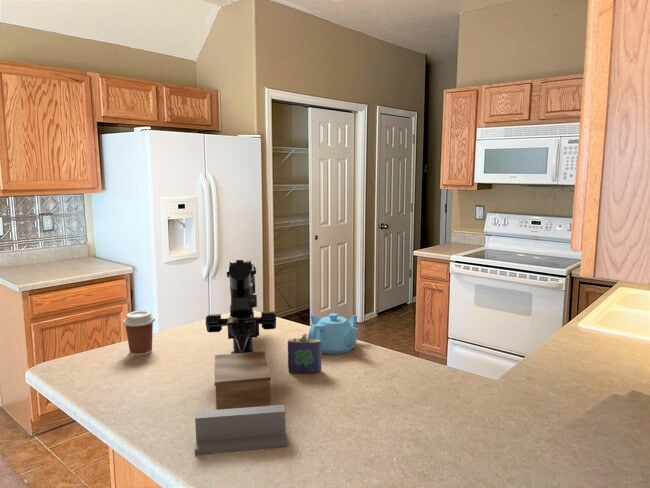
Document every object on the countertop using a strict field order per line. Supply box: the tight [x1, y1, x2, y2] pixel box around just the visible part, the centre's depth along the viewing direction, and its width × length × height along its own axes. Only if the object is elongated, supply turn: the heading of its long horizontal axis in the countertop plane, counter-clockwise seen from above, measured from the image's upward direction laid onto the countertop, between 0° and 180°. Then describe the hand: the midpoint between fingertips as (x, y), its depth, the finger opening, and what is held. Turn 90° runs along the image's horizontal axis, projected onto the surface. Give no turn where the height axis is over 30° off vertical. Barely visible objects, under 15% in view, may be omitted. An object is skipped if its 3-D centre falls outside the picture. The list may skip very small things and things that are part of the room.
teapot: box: [307, 312, 359, 355], centre depth 156 cm, size 15×15×11 cm
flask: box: [287, 333, 322, 375], centre depth 137 cm, size 9×3×11 cm, turn 88°
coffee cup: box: [122, 310, 156, 357], centre depth 153 cm, size 9×9×12 cm
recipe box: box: [214, 350, 272, 410], centre depth 120 cm, size 16×12×9 cm
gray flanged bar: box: [194, 404, 288, 455], centre depth 102 cm, size 6×18×6 cm, turn 99°
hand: (241, 350), depth 132 cm, fingers closed
